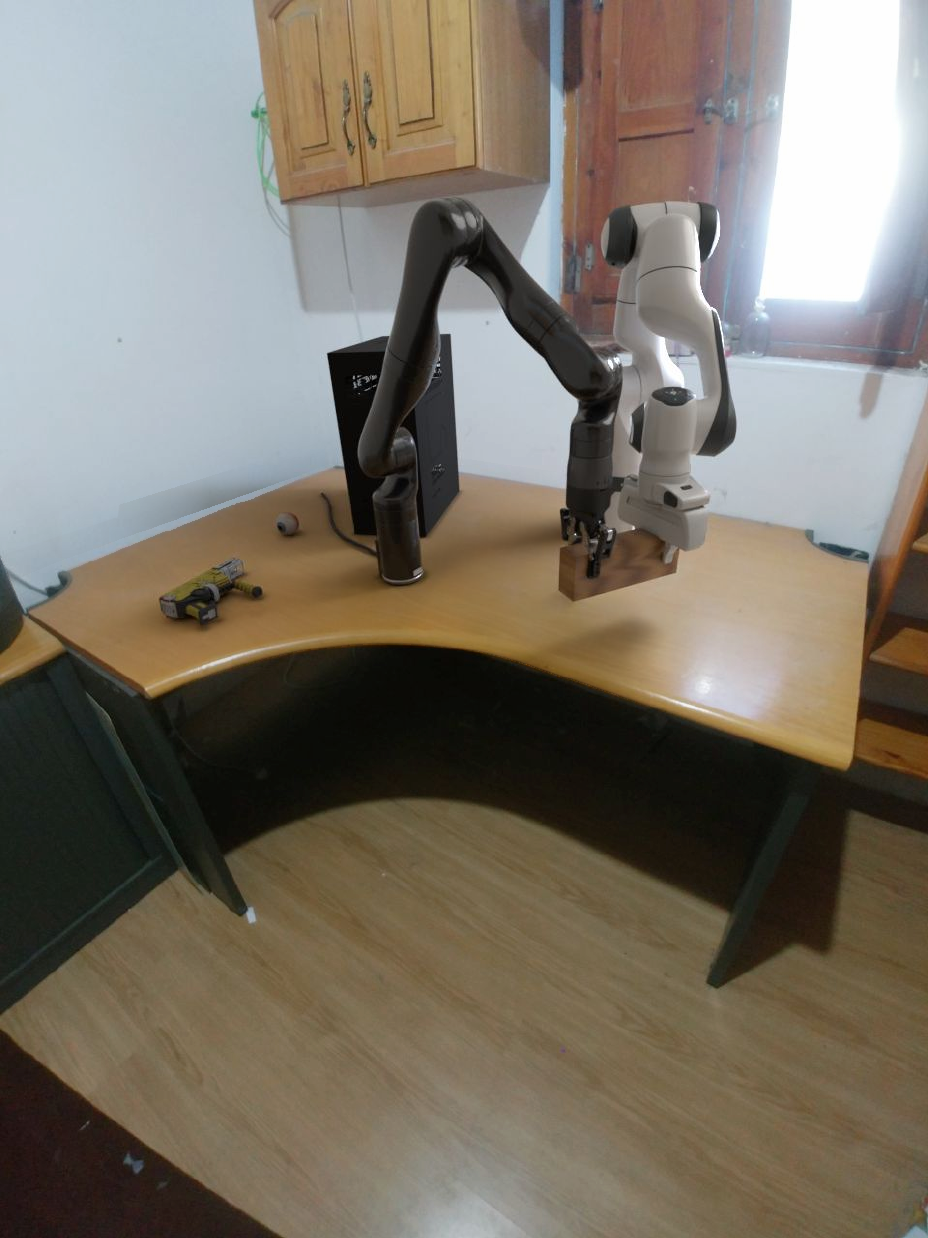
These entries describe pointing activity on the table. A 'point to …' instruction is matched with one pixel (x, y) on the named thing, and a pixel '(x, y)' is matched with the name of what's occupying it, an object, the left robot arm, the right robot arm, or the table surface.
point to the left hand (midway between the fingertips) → (583, 571)
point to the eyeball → (287, 523)
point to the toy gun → (205, 592)
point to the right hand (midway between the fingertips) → (654, 555)
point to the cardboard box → (424, 422)
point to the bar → (614, 565)
